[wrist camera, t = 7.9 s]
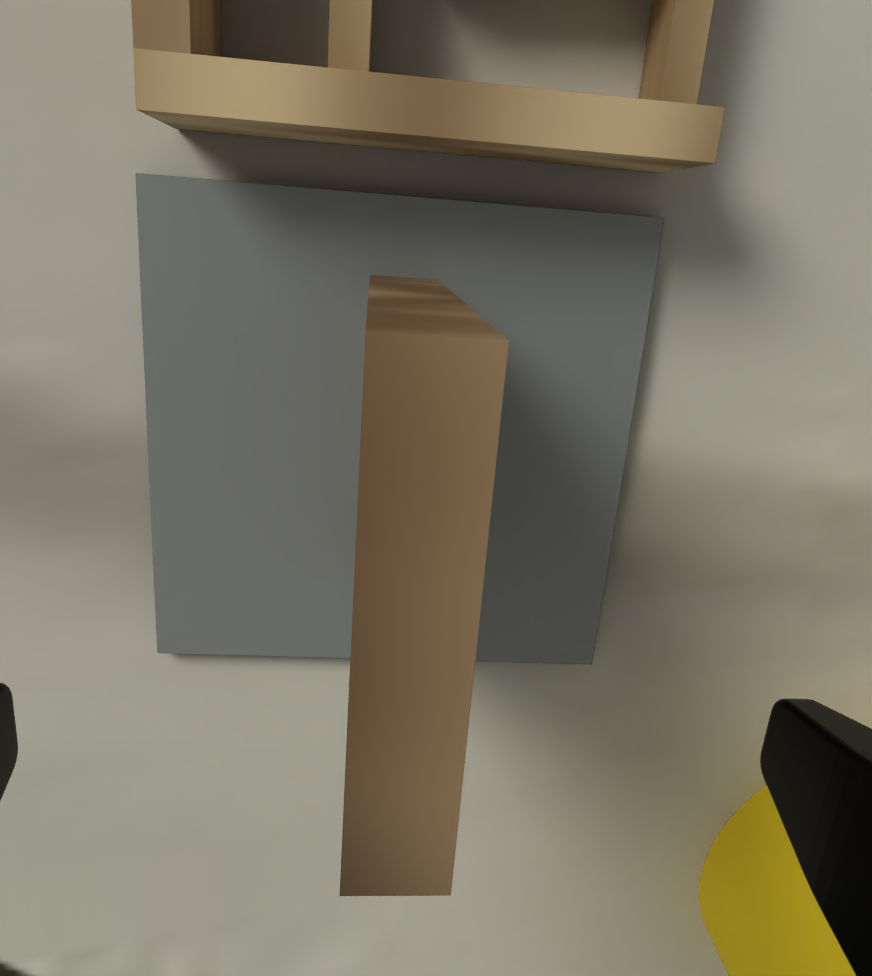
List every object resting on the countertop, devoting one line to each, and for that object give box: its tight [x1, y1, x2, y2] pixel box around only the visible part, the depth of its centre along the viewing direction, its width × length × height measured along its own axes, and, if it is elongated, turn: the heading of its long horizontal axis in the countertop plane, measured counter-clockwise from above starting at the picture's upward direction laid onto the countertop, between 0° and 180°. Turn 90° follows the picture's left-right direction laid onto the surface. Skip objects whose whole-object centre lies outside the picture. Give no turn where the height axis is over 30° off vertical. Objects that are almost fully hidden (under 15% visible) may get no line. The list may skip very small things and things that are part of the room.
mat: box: [136, 173, 664, 664], centre depth 19 cm, size 12×12×1 cm
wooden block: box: [340, 275, 509, 896], centre depth 14 cm, size 2×8×10 cm, turn 176°
